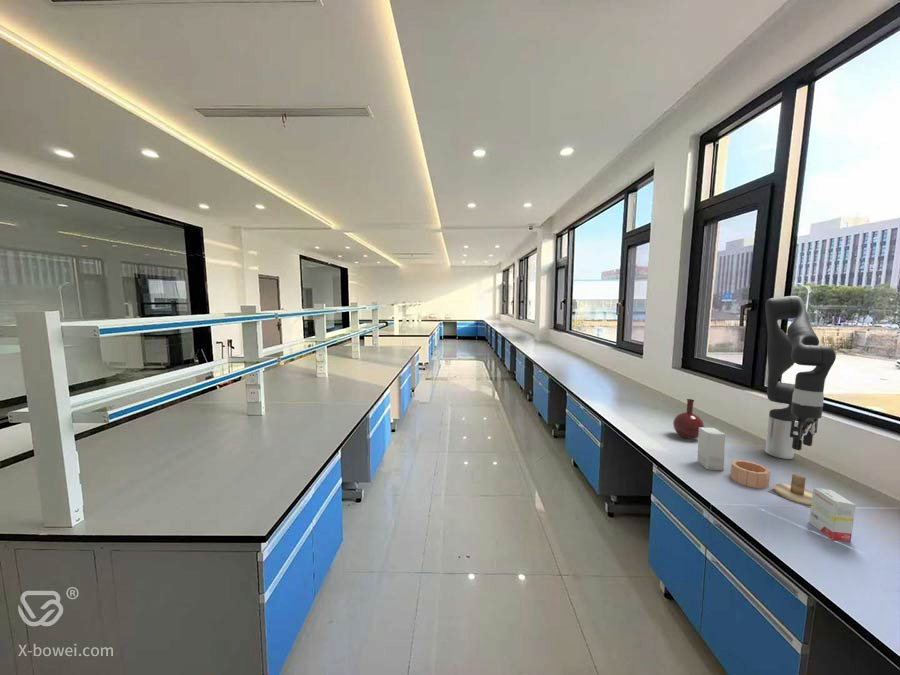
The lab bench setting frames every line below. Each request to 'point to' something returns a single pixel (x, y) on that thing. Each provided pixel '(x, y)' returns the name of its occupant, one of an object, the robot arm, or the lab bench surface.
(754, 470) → the bowl
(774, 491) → the mat
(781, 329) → the robot arm
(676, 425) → the red vase
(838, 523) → the ink box
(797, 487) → the lid
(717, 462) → the skincare box
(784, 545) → the lab bench surface
